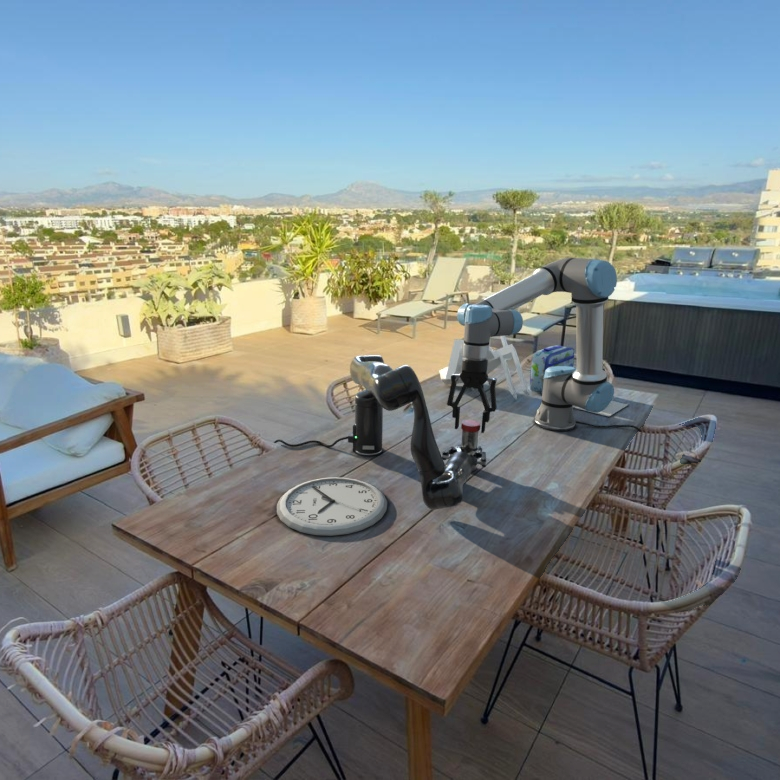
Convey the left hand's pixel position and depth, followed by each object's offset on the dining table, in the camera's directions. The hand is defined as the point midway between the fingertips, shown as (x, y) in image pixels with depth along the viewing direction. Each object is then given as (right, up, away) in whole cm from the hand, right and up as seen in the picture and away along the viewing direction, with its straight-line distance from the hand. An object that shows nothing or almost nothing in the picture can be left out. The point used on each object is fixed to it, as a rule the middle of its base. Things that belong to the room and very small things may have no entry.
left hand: (470, 447), depth 167 cm
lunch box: (+50, +18, +81) cm, 97 cm away
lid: (-1, +8, -5) cm, 9 cm away
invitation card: (+66, +11, +60) cm, 89 cm away
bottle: (-1, -7, -1) cm, 7 cm away
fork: (-17, +11, +56) cm, 60 cm away
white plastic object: (+16, +17, +76) cm, 80 cm away
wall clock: (-42, -13, -24) cm, 50 cm away
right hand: (-1, +6, -5) cm, 8 cm away
